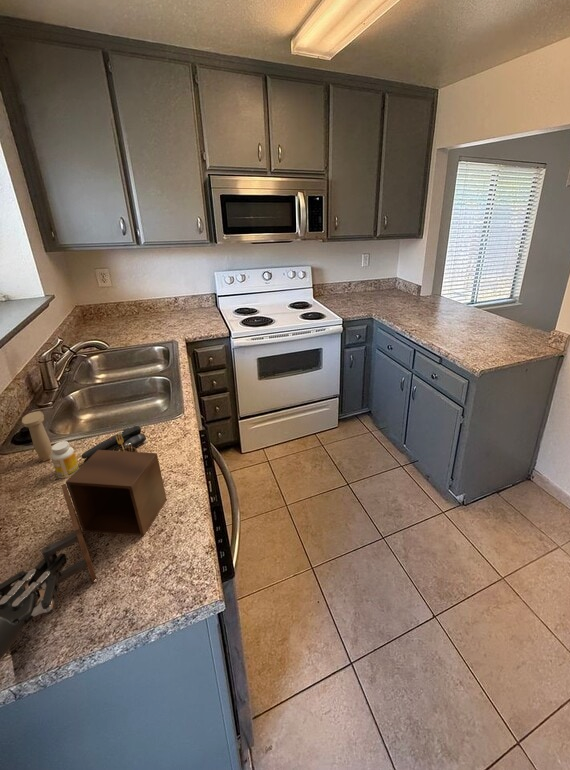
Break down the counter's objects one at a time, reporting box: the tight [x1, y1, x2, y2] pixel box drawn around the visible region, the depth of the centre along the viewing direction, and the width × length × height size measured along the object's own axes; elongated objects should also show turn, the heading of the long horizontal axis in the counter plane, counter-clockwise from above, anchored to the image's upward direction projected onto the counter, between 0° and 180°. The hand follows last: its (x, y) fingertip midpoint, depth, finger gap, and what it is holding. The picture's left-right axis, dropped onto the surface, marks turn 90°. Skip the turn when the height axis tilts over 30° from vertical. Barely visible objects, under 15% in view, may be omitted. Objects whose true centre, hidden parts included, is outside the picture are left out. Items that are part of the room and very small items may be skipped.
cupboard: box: [65, 450, 168, 537], centre depth 88 cm, size 11×16×16 cm
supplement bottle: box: [51, 440, 80, 479], centre depth 103 cm, size 5×5×10 cm
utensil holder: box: [114, 431, 138, 452], centre depth 103 cm, size 6×6×12 cm
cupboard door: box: [40, 483, 98, 584], centre depth 76 cm, size 6×16×15 cm, turn 42°
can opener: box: [80, 425, 147, 464], centre depth 112 cm, size 18×7×6 cm, turn 134°
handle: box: [21, 410, 53, 462], centre depth 107 cm, size 5×6×15 cm
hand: (59, 555), depth 72 cm, fingers closed
